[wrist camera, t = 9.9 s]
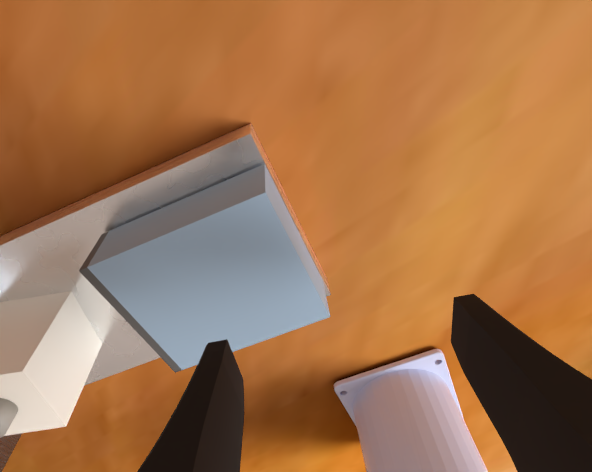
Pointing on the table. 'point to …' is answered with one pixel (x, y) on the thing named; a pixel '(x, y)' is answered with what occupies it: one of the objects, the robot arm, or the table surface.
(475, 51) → the table surface
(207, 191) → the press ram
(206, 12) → the table surface
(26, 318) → the block
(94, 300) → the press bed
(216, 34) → the table surface
